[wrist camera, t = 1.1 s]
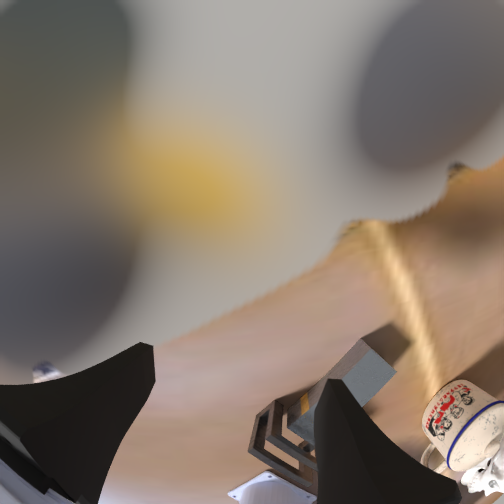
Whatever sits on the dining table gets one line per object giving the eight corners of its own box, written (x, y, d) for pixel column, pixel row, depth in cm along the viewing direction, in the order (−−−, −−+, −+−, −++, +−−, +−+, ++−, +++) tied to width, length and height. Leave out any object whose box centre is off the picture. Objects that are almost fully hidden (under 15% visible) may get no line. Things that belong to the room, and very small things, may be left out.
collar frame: (324, 435, 25) (331, 472, 18) (305, 449, 25) (307, 487, 18) (274, 399, 26) (270, 434, 19) (256, 415, 26) (247, 451, 19)
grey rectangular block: (359, 337, 26) (370, 348, 22) (384, 359, 25) (396, 372, 21) (287, 408, 26) (286, 427, 22) (312, 427, 26) (315, 446, 22)
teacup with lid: (453, 365, 24) (510, 400, 12) (483, 391, 22) (531, 423, 11) (390, 441, 24) (421, 499, 13) (426, 458, 23) (458, 506, 11)
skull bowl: (446, 488, 20) (506, 491, 10) (478, 417, 27) (534, 407, 17) (464, 499, 19) (515, 500, 8) (493, 436, 26) (541, 428, 15)
